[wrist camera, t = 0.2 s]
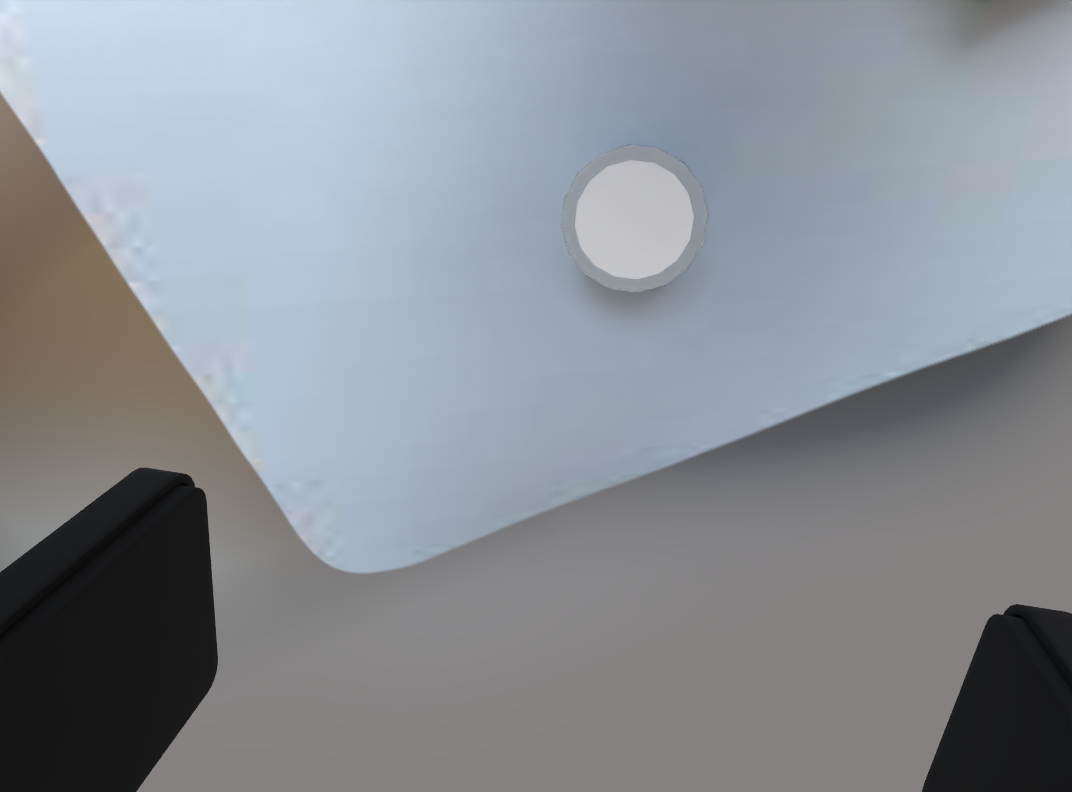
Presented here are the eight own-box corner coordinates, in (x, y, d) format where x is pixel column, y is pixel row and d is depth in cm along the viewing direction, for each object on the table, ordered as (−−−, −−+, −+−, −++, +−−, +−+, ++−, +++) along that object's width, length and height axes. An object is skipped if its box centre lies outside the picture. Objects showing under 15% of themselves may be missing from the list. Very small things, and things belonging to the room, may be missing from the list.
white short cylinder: (719, 157, 42) (731, 171, 36) (673, 278, 45) (677, 311, 38) (596, 117, 42) (586, 124, 36) (558, 240, 45) (542, 267, 39)
